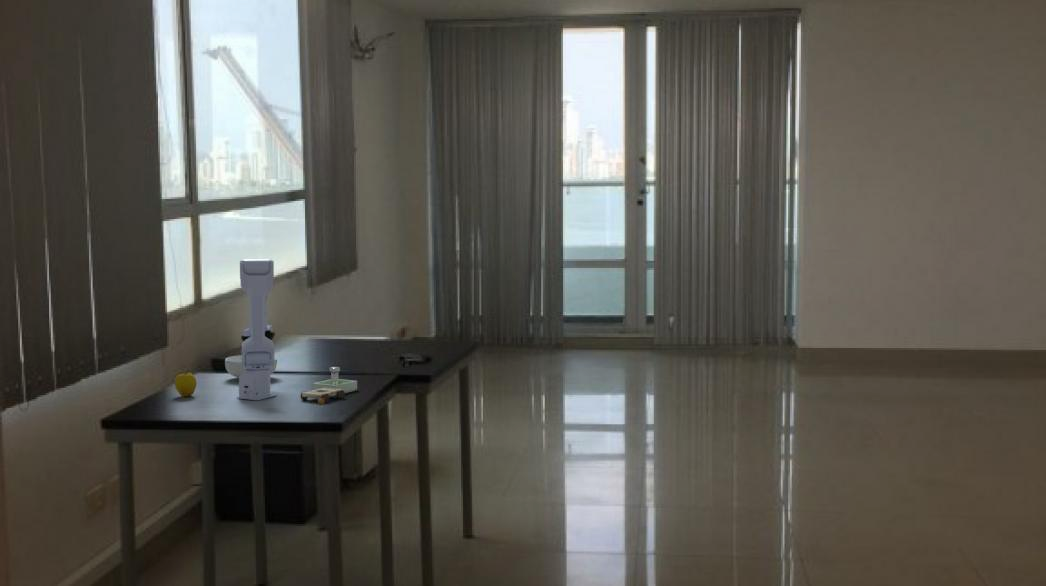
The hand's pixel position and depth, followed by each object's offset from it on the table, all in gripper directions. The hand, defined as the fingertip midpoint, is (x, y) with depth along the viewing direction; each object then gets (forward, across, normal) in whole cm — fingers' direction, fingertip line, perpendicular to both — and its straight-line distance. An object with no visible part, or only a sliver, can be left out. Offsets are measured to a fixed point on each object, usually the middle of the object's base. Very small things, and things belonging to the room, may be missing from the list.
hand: (258, 356), depth 375 cm
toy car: (+10, -10, -28) cm, 31 cm away
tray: (+10, +4, -25) cm, 27 cm away
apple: (+11, -20, +14) cm, 26 cm away
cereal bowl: (+11, +16, +12) cm, 23 cm away
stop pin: (+10, +4, -25) cm, 27 cm away
